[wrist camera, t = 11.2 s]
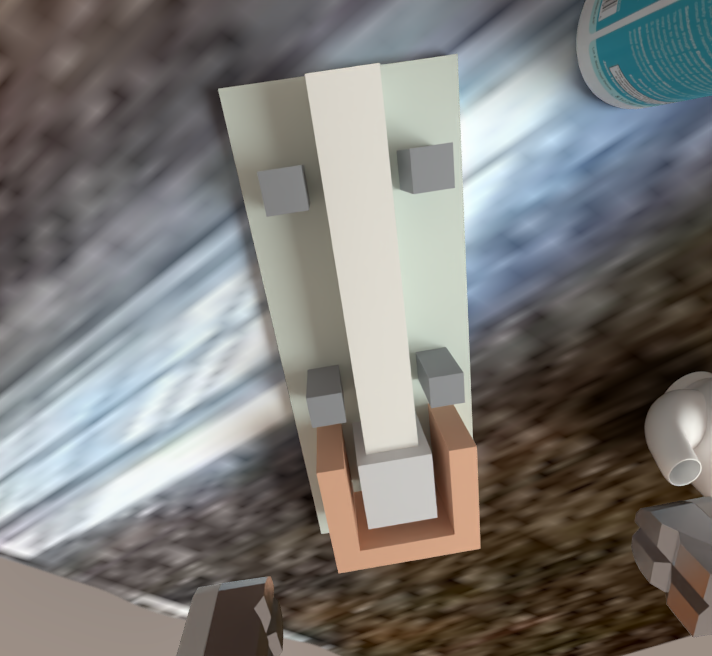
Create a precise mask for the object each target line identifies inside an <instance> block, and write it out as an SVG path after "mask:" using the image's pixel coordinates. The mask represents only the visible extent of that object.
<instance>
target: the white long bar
mask: <svg viewBox="0 0 712 656" xmlns="http://www.w3.org/2000/svg"><path fill="white" fill-rule="evenodd" d="M305 79H306V85H307V91H308V97H309V103H310V110H311V116H312V122H313V128H314V134H315V141H316V147H317V153H318V159H319V165H320V172H321V178H322V184H323V190H324V196H325V203H326V209H327V215H328V221H329V227H330V234H331V240H332V246H333V252H334V258H335V265H336V271H337V277H338V283H339V289H340V296H341V302H342V308H343V314H344V320H345V327H346V333H347V339H348V345H349V351H350V358H351V364H352V370H353V376H354V382H355V389H356V395H357V401H358V407H359V413H360V419H361V421H359V422H353V423H352V426H353V434H354V442H355V450H356V458H357V466H358V472H359V477H360V483H361V489H362V495H363V500H364V506H365V512H366V518H367V523H368V529H374V528H380V527H386V526H392V525H397V524H403V523H409V522H415V521H421V520H426V519H432V518H437V506H436V495H435V483H434V472H433V460H432V453H431V450H430V448H429V445H428V442H427V440H426V437H425V435H424V432H423V429H422V427H421V424H420V422H419V419H418V417H417V414H416V412H415V407H414V397H413V387H412V377H411V367H410V357H409V347H408V338H407V328H406V318H405V308H404V298H403V288H402V278H401V268H400V259H399V249H398V239H397V229H396V219H395V209H394V199H393V189H392V180H391V170H390V160H389V150H388V140H387V130H386V120H385V110H384V100H383V91H382V81H381V71H380V63H375V64H368V65H361V66H354V67H347V68H341V69H334V70H327V71H320V72H313V73H306V74H305Z"/></svg>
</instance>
